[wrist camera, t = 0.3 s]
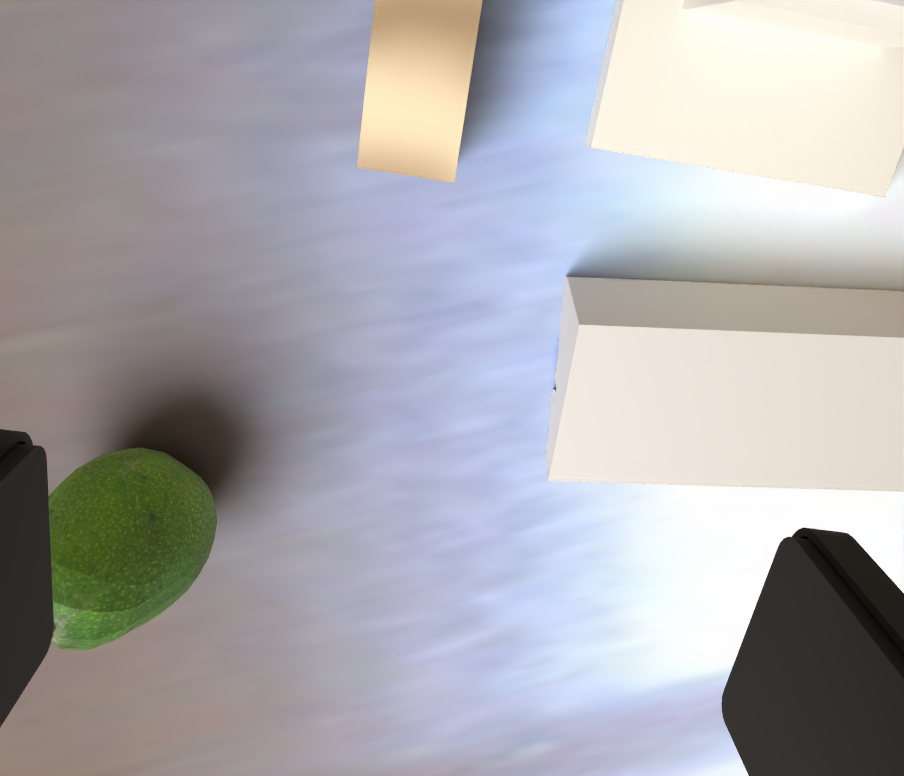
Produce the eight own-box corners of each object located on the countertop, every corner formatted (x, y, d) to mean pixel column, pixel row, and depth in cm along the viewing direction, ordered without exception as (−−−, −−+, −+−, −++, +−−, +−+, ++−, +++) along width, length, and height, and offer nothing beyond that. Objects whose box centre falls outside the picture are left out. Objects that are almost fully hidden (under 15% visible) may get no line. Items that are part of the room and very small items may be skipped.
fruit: (205, 565, 45) (133, 733, 33) (66, 516, 43) (-57, 676, 32) (253, 451, 42) (192, 594, 31) (106, 395, 40) (-13, 525, 29)
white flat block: (1103, 439, 47) (1216, 298, 40) (1161, 499, 43) (1296, 353, 37) (539, 420, 45) (565, 269, 39) (548, 481, 41) (579, 324, 35)
